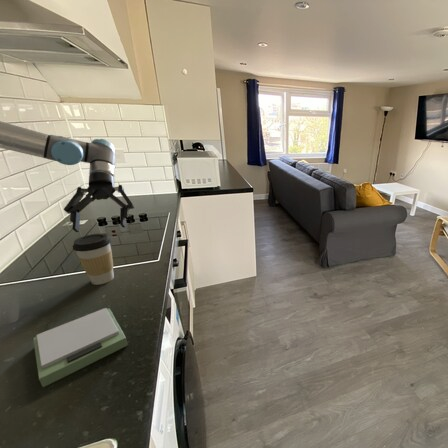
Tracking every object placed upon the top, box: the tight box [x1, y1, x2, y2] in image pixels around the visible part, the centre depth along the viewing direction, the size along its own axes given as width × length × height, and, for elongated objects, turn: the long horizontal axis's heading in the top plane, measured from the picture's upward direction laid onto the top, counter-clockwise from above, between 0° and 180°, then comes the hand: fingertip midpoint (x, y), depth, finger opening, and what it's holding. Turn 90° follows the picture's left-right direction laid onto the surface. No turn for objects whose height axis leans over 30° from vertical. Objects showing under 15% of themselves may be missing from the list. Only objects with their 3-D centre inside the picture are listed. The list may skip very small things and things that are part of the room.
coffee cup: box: [72, 233, 115, 286], centre depth 85 cm, size 10×10×15 cm
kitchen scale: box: [32, 307, 129, 388], centre depth 61 cm, size 15×15×3 cm
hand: (99, 228), depth 90 cm, fingers open, 13 cm apart
